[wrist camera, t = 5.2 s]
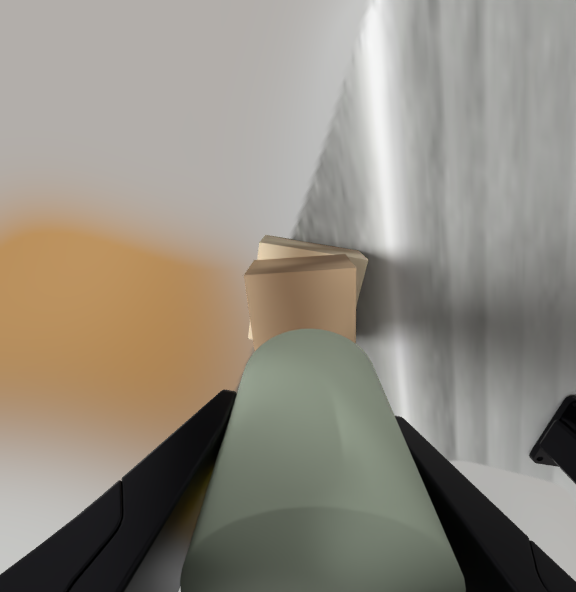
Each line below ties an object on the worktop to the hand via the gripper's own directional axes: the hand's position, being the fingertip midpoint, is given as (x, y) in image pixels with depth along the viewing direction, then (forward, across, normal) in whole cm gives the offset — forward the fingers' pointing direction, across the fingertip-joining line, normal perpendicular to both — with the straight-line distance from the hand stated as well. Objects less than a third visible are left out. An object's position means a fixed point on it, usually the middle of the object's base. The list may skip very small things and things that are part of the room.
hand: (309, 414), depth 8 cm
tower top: (+8, 0, 0) cm, 8 cm away
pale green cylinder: (+1, 0, 0) cm, 1 cm away
